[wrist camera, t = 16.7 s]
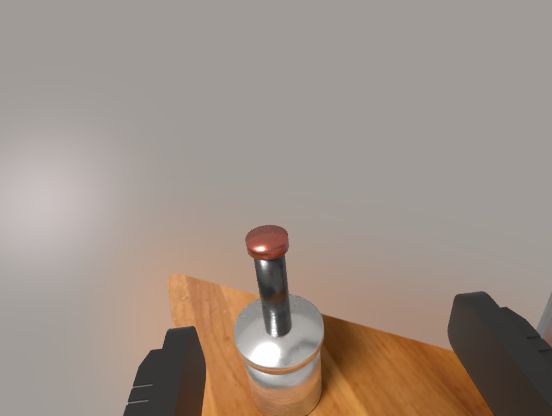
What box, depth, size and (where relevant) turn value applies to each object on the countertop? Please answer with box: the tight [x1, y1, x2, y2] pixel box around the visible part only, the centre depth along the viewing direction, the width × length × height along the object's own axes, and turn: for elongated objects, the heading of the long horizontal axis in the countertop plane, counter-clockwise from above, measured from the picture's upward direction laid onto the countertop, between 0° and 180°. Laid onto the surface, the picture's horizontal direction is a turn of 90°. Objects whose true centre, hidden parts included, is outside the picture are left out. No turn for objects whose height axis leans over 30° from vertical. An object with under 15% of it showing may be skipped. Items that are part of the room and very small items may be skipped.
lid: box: [234, 225, 324, 374], centre depth 35 cm, size 10×10×13 cm
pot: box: [244, 351, 322, 416], centre depth 40 cm, size 9×9×10 cm
